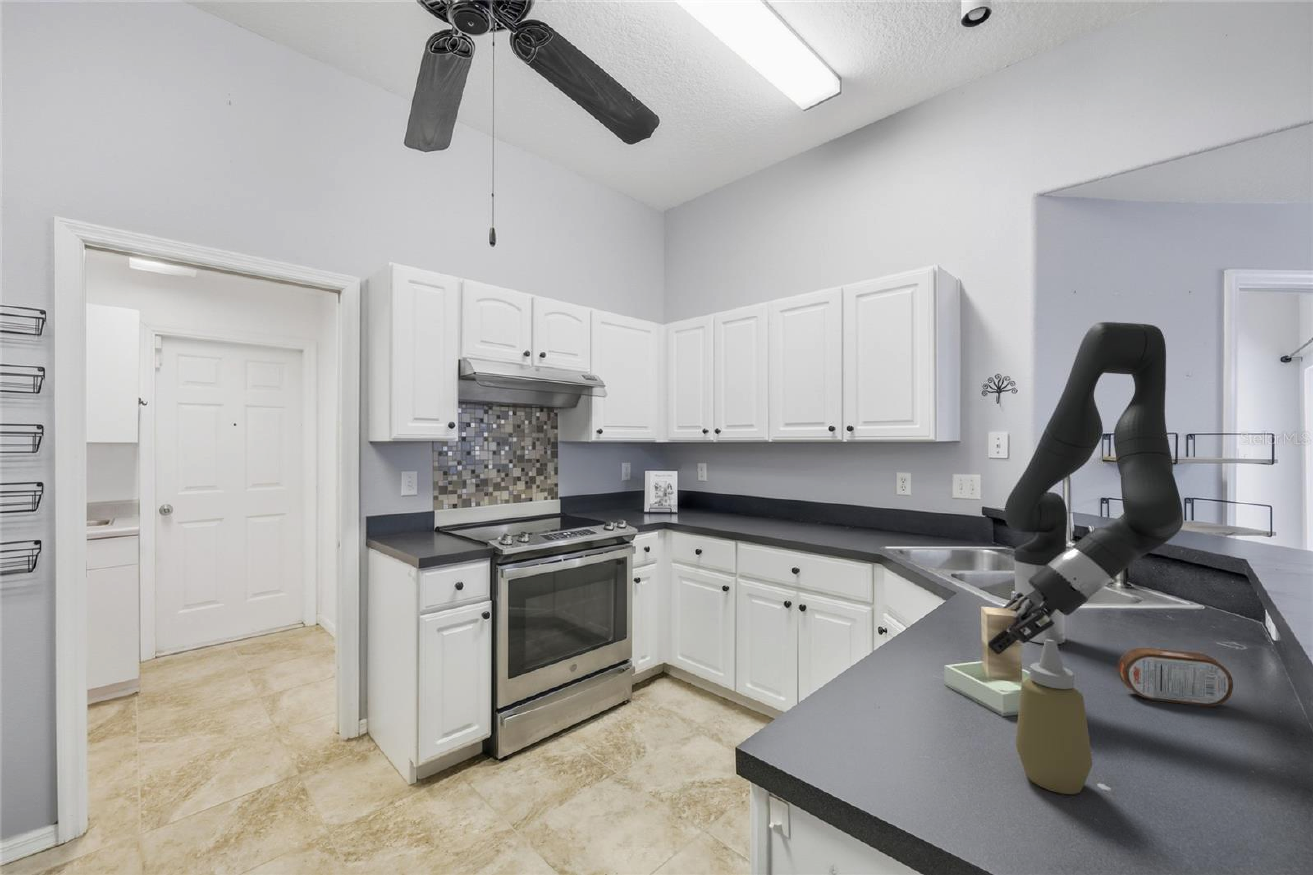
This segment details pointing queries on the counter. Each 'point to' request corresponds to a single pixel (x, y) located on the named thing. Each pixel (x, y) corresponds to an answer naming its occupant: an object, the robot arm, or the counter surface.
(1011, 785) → the counter surface
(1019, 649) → the beech block
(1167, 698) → the tin
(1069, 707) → the squeeze bottle
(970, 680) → the bin
